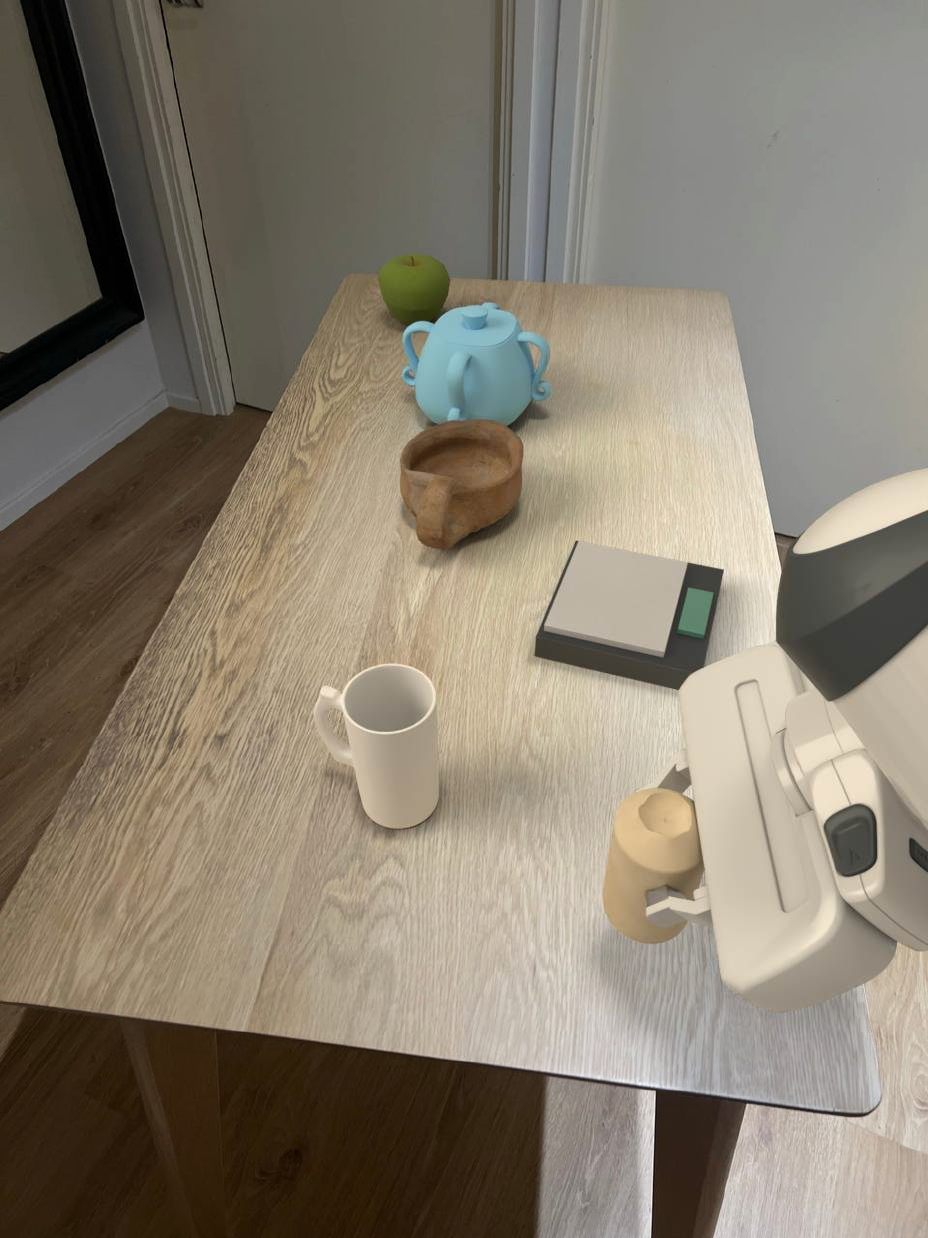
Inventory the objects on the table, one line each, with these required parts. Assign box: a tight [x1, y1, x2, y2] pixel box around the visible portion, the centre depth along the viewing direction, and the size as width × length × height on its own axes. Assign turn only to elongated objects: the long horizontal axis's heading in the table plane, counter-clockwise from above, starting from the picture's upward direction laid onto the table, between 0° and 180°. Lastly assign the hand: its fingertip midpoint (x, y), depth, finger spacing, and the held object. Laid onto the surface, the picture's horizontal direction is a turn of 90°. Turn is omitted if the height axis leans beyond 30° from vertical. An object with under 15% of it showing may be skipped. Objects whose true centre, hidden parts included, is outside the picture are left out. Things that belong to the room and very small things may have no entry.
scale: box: [534, 540, 725, 691], centre depth 85 cm, size 15×15×3 cm
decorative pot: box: [401, 301, 553, 427], centre depth 110 cm, size 16×16×14 cm
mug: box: [313, 663, 440, 830], centre depth 68 cm, size 10×7×12 cm, turn 69°
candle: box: [602, 788, 705, 945], centre depth 52 cm, size 6×6×10 cm
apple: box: [377, 253, 451, 327], centre depth 131 cm, size 11×10×10 cm
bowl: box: [399, 419, 525, 550], centre depth 95 cm, size 18×14×10 cm
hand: (646, 858), depth 52 cm, fingers closed on candle, 5 cm apart
